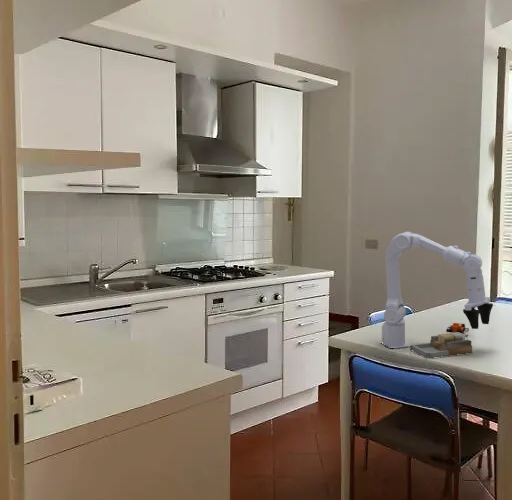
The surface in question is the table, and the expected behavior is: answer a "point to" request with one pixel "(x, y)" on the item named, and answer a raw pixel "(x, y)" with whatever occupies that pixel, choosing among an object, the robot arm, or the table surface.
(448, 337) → the tan wooden block
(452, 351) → the slot block
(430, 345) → the tray
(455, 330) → the toy
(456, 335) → the grey block
